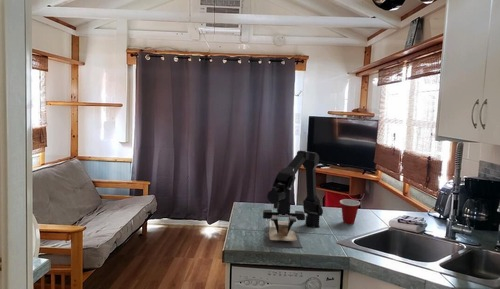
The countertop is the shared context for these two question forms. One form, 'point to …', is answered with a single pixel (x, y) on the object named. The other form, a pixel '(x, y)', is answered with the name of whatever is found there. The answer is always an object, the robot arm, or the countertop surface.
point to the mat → (281, 242)
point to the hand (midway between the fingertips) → (282, 233)
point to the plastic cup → (349, 210)
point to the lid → (282, 234)
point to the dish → (273, 227)
